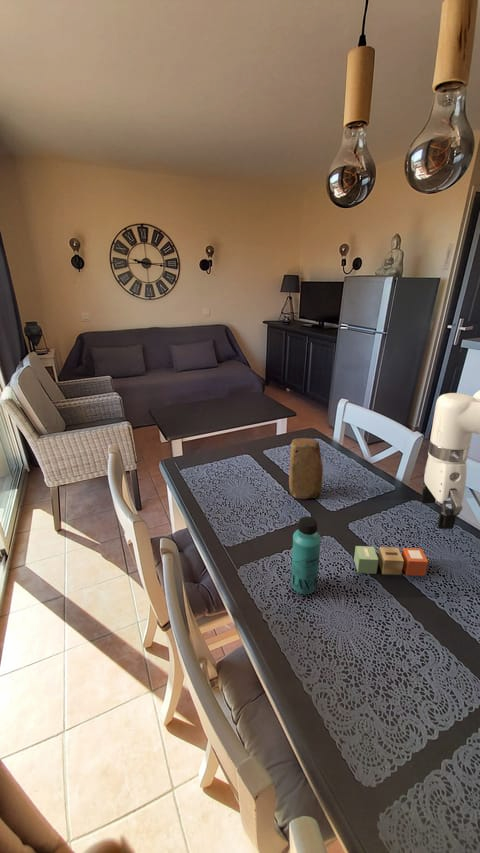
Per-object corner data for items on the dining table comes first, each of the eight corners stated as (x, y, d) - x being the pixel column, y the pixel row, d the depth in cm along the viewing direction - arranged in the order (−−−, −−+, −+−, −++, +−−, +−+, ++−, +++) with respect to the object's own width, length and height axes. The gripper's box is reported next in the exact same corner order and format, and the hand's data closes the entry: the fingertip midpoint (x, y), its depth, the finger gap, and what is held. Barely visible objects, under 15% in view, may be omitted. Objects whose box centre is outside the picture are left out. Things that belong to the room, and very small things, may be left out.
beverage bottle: (284, 587, 87) (286, 520, 79) (302, 573, 91) (306, 508, 83) (305, 604, 82) (309, 535, 74) (323, 589, 86) (329, 521, 78)
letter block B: (371, 560, 94) (374, 546, 92) (376, 573, 90) (378, 559, 88) (353, 559, 95) (355, 545, 93) (357, 573, 90) (359, 558, 89)
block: (288, 499, 120) (290, 445, 112) (288, 487, 127) (290, 435, 119) (321, 501, 119) (325, 447, 111) (320, 488, 125) (323, 436, 117)
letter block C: (418, 562, 93) (421, 548, 91) (425, 576, 89) (428, 561, 87) (400, 561, 94) (402, 547, 92) (405, 575, 89) (408, 560, 87)
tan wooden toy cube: (395, 561, 94) (398, 547, 92) (401, 575, 89) (404, 560, 88) (377, 560, 94) (379, 546, 92) (382, 574, 90) (384, 559, 88)
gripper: (488, 469, 70) (471, 539, 77) (448, 433, 86) (437, 494, 93) (447, 470, 71) (434, 539, 78) (415, 434, 87) (407, 494, 93)
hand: (436, 514), depth 85 cm, fingers open, 9 cm apart
